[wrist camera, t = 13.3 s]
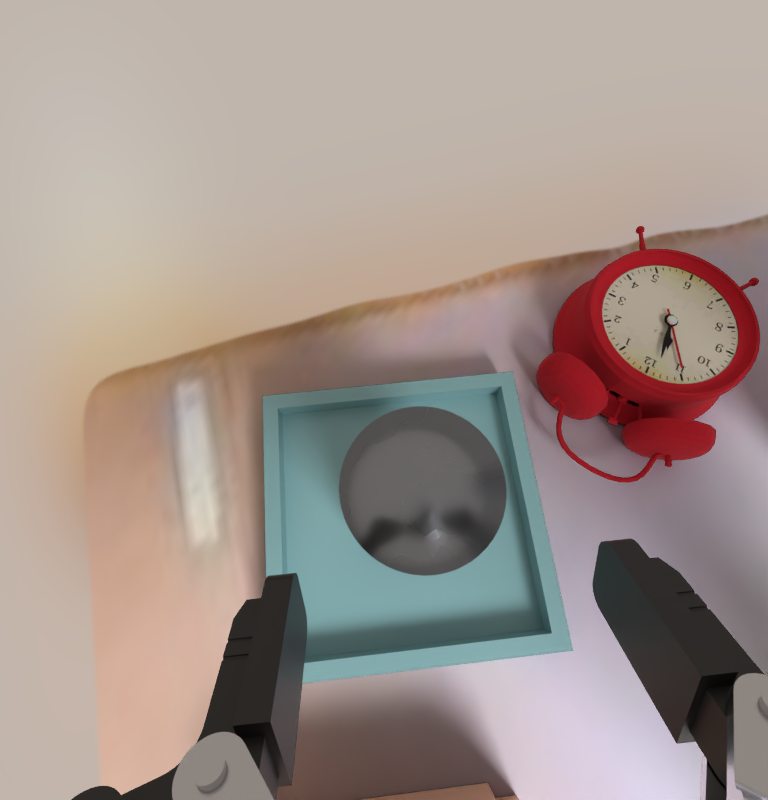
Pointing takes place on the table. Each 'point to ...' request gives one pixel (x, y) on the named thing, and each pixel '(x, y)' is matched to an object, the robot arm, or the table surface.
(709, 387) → the alarm clock
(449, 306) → the table surface
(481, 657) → the teal tray
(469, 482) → the canister
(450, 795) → the light orange open box
